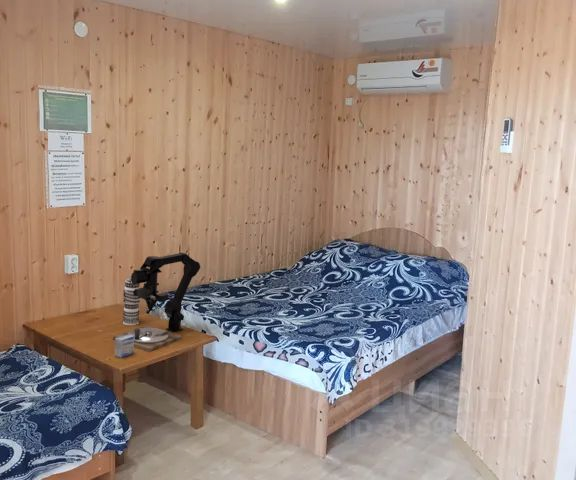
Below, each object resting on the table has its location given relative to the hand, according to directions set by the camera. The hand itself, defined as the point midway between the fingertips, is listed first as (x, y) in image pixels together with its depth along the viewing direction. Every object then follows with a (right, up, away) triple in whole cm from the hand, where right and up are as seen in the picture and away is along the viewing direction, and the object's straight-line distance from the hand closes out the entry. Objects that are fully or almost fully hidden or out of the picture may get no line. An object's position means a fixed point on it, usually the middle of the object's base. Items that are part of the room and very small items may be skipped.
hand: (150, 310), depth 294 cm
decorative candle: (-15, -9, +18) cm, 25 cm away
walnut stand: (0, -14, -4) cm, 14 cm away
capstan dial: (0, -12, -4) cm, 13 cm away
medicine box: (-6, -18, -26) cm, 32 cm away
